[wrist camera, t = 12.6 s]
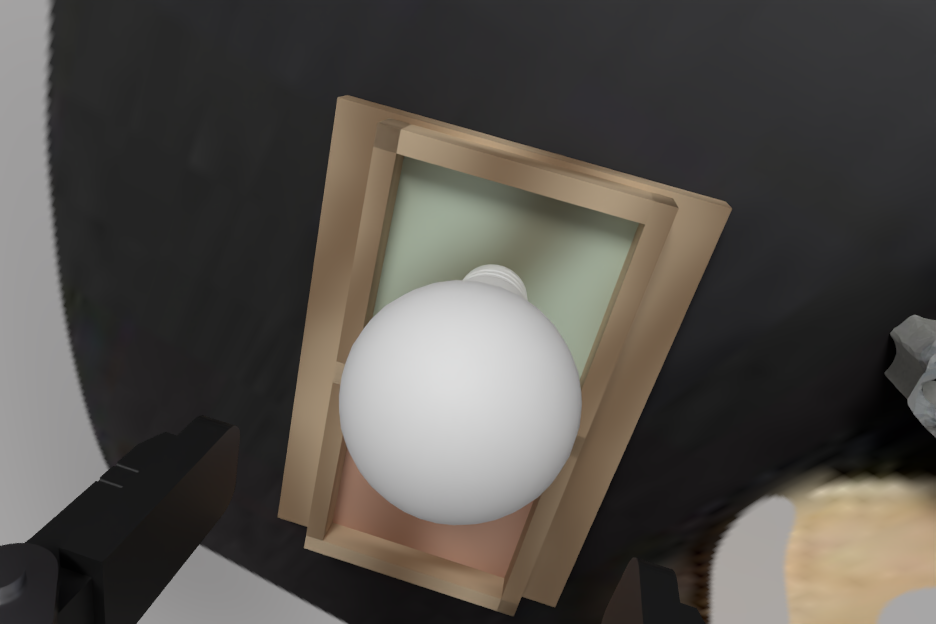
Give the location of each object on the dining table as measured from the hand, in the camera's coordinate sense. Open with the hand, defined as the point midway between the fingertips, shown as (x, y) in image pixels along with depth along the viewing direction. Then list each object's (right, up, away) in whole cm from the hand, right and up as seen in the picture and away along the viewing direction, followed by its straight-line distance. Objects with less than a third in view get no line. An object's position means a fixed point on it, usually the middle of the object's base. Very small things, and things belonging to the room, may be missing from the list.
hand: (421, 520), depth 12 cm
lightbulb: (+2, +5, +11) cm, 12 cm away
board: (+1, +1, +14) cm, 14 cm away
